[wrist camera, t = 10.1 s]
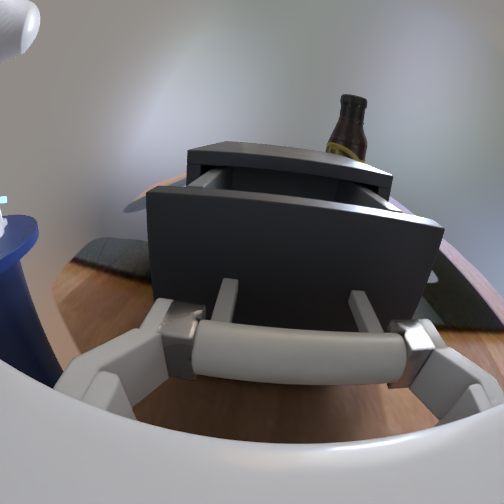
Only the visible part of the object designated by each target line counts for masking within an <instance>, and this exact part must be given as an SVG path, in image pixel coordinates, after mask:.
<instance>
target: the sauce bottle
mask: <svg viewBox="0 0 504 504" xmlns="http://www.w3.org/2000/svg"><path fill="white" fill-rule="evenodd" d="M340 102H341V110H340V117H339V120H338V123H337V125H336V127H335V129H334V131H333V133H332V135H331V137H330V139H329V141H328V143H327V148H326V152H327V153H333V154H339V155H342V156H345V157H347V158H350V159H353V160H355V161H358V162H361V163H363V164H365V155H366V150H367V140H366V137H365V134H364V130H363V124H364V123H363V120H364V114H365V109H366V108H367V100H366V99H365V98H362V97H359V96H355V95H350V94H343V95H342V96H341V101H340Z"/></svg>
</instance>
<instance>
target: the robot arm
mask: <svg viewBox="0 0 504 504" xmlns="http://www.w3.org/2000/svg"><path fill="white" fill-rule="evenodd" d="M39 26H40V13H39V10H38V8H37V6H36V5H35V4H34V3H33V2H30V1H28V0H0V64H1V63H3V62H6V61H8V60H11V59H13V58H15V57H17V56H20V55H22V54H23V53H24V52H25V51H26V50H27V49H28V48H29V47H30V45H31V44H32V42H33V41H34V39H35V37H36V35H37V33H38V30H39ZM6 202H7V197H6V196H5V197H0V203H6ZM7 224H8V223H7V219H6V218H2V214H1V210H0V238H1V237H2V236H3V234H4V228H5V226H6V225H7ZM205 318H206V306H205V305H202V304H196V303H190V302H184V301H178V300H171V299H165V298H158V299H157V300H156V301H155V303H154V304H153V306H152V308H151V309H150V311H149V313H148V314H147V316H146V318H145V319H144V321H143V323H142V324H141V326H140V328H139V329H136V328H134V329H132V330H130V331H128V332H126V333H124V334H122V335H120V336H118V337H116V338H114V339H112V340H110V341H108V342H106V343H104V344H102V345H100V346H98V347H96V348H94V349H92V350H90V351H88V352H85V353H83V354H81V355H79V356H77V357H75V358H73V359H72V361H71V362H70V363H69V365H68V366H67V368H66V369H65V371H64V372H63V374H62V375H61V377H60V378H59V380H58V381H57V383H56V384H55V386H54V388H53V389H52V388H50V387H48V386H46V385H44V384H42V383H40V382H38V381H36V380H34V379H33V378H31V377H29V376H27V375H25V374H23V373H22V372H20V371H18V370H17V369H15V368H13V367H12V366H10V365H8V364H7V363H5V362H3V361H2V360H0V504H504V393H503V391H502V389H501V387H500V385H499V384H498V382H497V380H496V379H495V377H493V376H492V375H490V374H489V373H487V372H486V371H485V370H483V369H482V368H480V367H479V366H477V365H476V364H474V363H473V362H471V361H470V360H468V359H467V358H466V357H464V356H463V355H461V354H460V353H458V352H457V351H455V350H454V349H452V348H448V347H447V346H446V344H445V342H444V341H443V339H442V338H441V336H440V335H439V333H438V332H437V330H436V328H435V327H434V325H433V324H432V322H431V321H430V320H428V319H415V320H391V321H390V322H389V324H388V326H387V328H386V330H387V333H398V334H400V335H401V336H402V337H403V339H404V341H405V344H406V349H407V361H406V366H405V370H404V372H403V374H402V376H401V377H400V378H399V379H398V380H397V381H395V382H393V383H387V386H388V389H394V388H407V387H409V389H410V390H411V391H412V392H413V393H414V394H415V395H416V397H417V398H418V399H419V400H420V401H421V402H422V403H423V404H424V405H425V406H426V407H427V408H428V409H429V410H430V411H431V412H432V413H433V414H434V415H435V416H436V417H437V418H438V419H439V420H440V421H439V422H438V423H437V424H436V425H435V426H434V427H433V428H429V429H424V430H420V431H416V432H411V433H406V434H401V435H395V436H389V437H383V438H376V439H369V440H360V441H350V442H337V443H318V444H280V443H260V442H247V441H237V440H228V439H220V438H213V437H207V436H201V435H195V434H190V433H185V432H180V431H175V430H170V429H166V428H162V427H158V426H154V425H150V424H146V423H143V422H139V421H137V419H136V417H135V414H134V412H133V410H132V407H134V406H135V405H136V404H137V403H139V402H140V401H141V400H142V399H144V398H145V397H146V396H147V395H149V394H150V393H151V392H152V391H154V390H155V389H156V388H157V387H158V386H160V385H161V384H162V383H163V382H165V381H166V380H167V379H168V378H169V377H175V378H181V379H187V380H194V381H196V378H197V375H198V374H196V373H194V372H193V368H192V350H193V346H194V339H195V334H196V330H197V327H198V323H199V322H200V320H203V319H205Z"/></svg>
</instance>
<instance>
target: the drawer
mask: <svg viewBox="0 0 504 504" xmlns="http://www.w3.org/2000/svg"><path fill="white" fill-rule="evenodd" d="M146 209H147V231H148V246H149V259H150V270H151V279H152V288H153V297H154V303H155V301H156V300H157V299H158V298H165V299H171V300H178V301H184V302H190V303H196V304H202V305H205V306H206V318H205V319H203V320H200V322H199V323H198V327H197V330H196V334H195V339H194V346H193V350H192V368H193V372H194V373H196V374H199V375H206V376H212V377H219V378H227V379H235V380H244V381H254V382H265V383H278V384H297V385H364V384H382V383H393V382H395V381H397V380H398V379H399V378H400V377H401V376H402V374H403V372H404V370H405V366H406V361H407V349H406V344H405V341H404V339H403V337H402V336H401V335H400V334H398V333H387V330H386V328H387V326H388V324H389V322H390V321H391V320H411V319H412V317H413V315H414V313H415V310H416V308H417V306H418V303H419V301H420V299H421V296H422V294H423V291H424V289H425V286H426V284H427V281H428V278H429V276H430V273H431V270H432V268H433V265H434V262H435V259H436V256H437V253H438V250H439V247H440V244H441V240H442V237H443V234H444V228H443V227H442V226H440V225H439V224H438V223H436V222H434V221H433V220H432V219H427V218H423V217H418V216H413V215H408V214H403V213H402V211H400V210H399V209H398V208H396V207H395V206H393V205H392V204H390V203H389V202H388V201H386V200H385V199H383V198H382V197H380V196H379V195H377V194H376V193H374V192H373V191H371V190H370V189H368V188H366V187H365V186H363V185H362V184H360V183H357V182H351V181H345V180H339V179H333V178H327V177H320V176H313V175H306V174H298V173H290V172H282V171H273V170H263V169H253V168H241V167H228V166H216V167H214V168H213V169H211V170H210V171H208V172H206V173H205V174H203V175H202V176H200V177H199V178H198V179H196V180H195V181H193V182H192V183H190V184H189V185H187V187H176V186H157V187H155V188H153V189H151V190H150V191H148V192H146Z"/></svg>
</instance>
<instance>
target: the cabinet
mask: <svg viewBox="0 0 504 504" xmlns="http://www.w3.org/2000/svg"><path fill="white" fill-rule="evenodd" d="M187 154H188V155H187V178H186V187H187V185H189V184H190V183H192V182H193V181H195V180H196V179H198V178H199V177H200V176H202V175H203V174H205V173H206V172H208V171H210V170H211V169H213V168H214V167H216V166H228V167H241V168H253V169H263V170H273V171H282V172H290V173H298V174H306V175H313V176H320V177H327V178H333V179H339V180H345V181H351V182H357V183H360V184H362V185H363V186H365V187H366V188H368V189H370V190H371V191H373V192H374V193H376V194H377V195H379V196H380V197H382V198H383V199H385V200H386V201H389V196H390V191H391V185H392V180H393V176H392V175H390V174H388V173H385V172H383V171H381V170H378V169H376V168H373V167H371V166H368V165H366V164H363V163H361V162H358V161H355V160H353V159H350V158H347V157H345V156H342V155H339V154H333V153H327V152H321V151H315V150H307V149H301V148H293V147H284V146H276V145H267V144H256V143H255V144H254V143H243V142H228V141H225V142H221V143H216V144H212V145H207V146H203V147H198V148H194V149H190V150H188V153H187Z"/></svg>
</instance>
